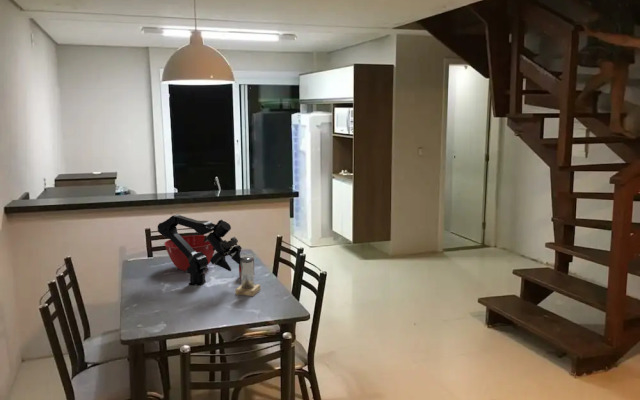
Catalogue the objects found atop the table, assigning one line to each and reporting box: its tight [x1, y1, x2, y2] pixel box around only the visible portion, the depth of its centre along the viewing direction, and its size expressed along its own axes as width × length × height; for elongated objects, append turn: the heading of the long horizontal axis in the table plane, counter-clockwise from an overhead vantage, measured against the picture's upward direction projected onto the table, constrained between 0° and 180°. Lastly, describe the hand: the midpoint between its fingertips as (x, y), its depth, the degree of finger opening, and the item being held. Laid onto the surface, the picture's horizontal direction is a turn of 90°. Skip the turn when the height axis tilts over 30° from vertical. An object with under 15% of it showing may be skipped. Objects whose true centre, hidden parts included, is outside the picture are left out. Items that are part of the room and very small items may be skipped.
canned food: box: [238, 254, 255, 279], centre depth 271 cm, size 8×8×11 cm
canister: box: [240, 257, 255, 289], centre depth 247 cm, size 6×6×14 cm
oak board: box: [235, 283, 261, 297], centre depth 248 cm, size 9×9×2 cm
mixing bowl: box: [164, 234, 215, 272], centre depth 287 cm, size 28×28×15 cm
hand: (236, 268), depth 249 cm, fingers open, 9 cm apart
